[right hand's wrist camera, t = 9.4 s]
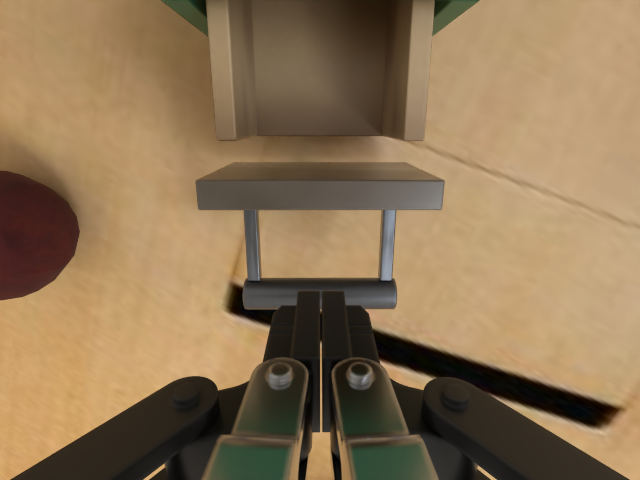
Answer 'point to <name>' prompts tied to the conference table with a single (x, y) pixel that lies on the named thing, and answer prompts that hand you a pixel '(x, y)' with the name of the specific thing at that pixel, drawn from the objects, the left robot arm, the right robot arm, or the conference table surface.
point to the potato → (32, 235)
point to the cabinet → (193, 9)
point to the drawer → (320, 121)
